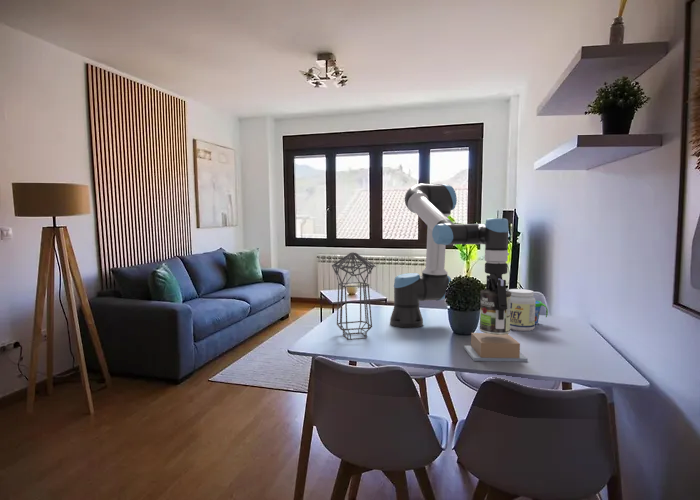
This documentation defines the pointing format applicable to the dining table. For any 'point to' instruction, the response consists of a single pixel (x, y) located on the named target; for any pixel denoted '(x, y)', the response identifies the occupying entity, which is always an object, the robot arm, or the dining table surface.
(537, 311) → the snack cup
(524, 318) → the supplement tub
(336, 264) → the geometric lantern
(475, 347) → the tower base
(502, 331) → the coffee can
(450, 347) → the dining table surface
